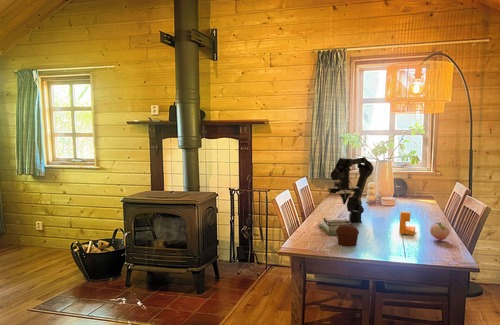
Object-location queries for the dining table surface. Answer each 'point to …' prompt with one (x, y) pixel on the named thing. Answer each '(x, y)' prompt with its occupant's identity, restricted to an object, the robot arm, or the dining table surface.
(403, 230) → the bracket
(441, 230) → the decorative fruit
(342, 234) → the muffin
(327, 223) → the strap
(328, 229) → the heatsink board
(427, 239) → the dining table surface
